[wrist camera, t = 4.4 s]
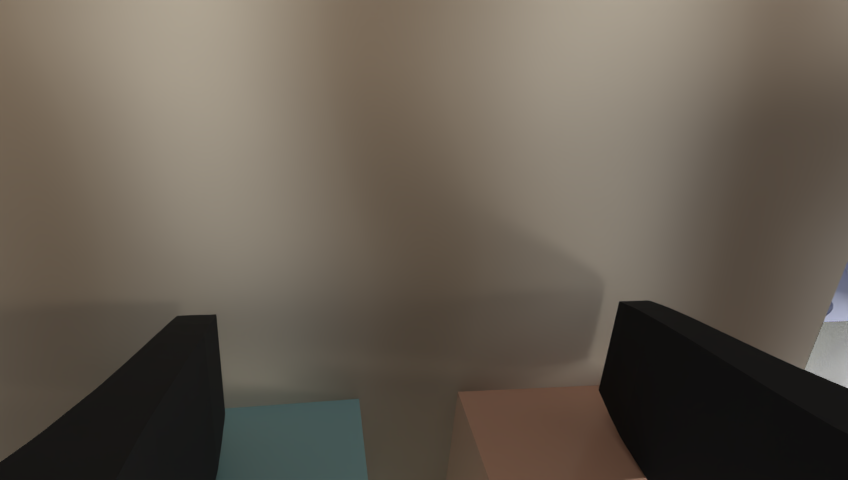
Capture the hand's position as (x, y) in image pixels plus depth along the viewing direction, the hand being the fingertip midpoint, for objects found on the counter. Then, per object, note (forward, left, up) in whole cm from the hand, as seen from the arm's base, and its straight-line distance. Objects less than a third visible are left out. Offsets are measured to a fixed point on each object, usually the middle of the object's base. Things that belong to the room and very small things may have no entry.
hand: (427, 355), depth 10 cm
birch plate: (0, 0, -5) cm, 5 cm away
